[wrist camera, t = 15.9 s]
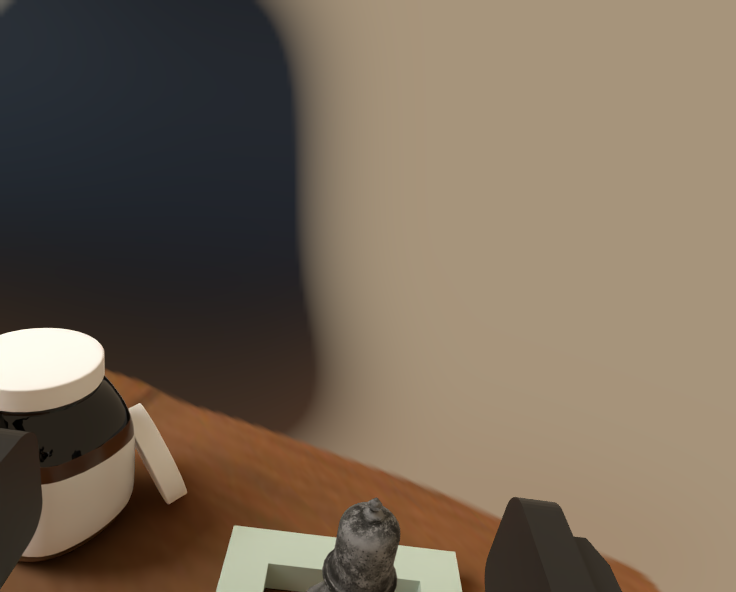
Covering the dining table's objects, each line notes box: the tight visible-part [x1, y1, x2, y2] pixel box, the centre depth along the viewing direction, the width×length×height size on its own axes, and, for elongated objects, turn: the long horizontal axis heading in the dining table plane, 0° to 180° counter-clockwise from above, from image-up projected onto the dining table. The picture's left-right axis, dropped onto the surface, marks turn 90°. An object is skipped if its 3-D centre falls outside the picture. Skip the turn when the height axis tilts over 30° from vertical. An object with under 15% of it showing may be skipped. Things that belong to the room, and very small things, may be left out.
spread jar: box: [0, 328, 187, 562], centre depth 35 cm, size 12×11×12 cm
